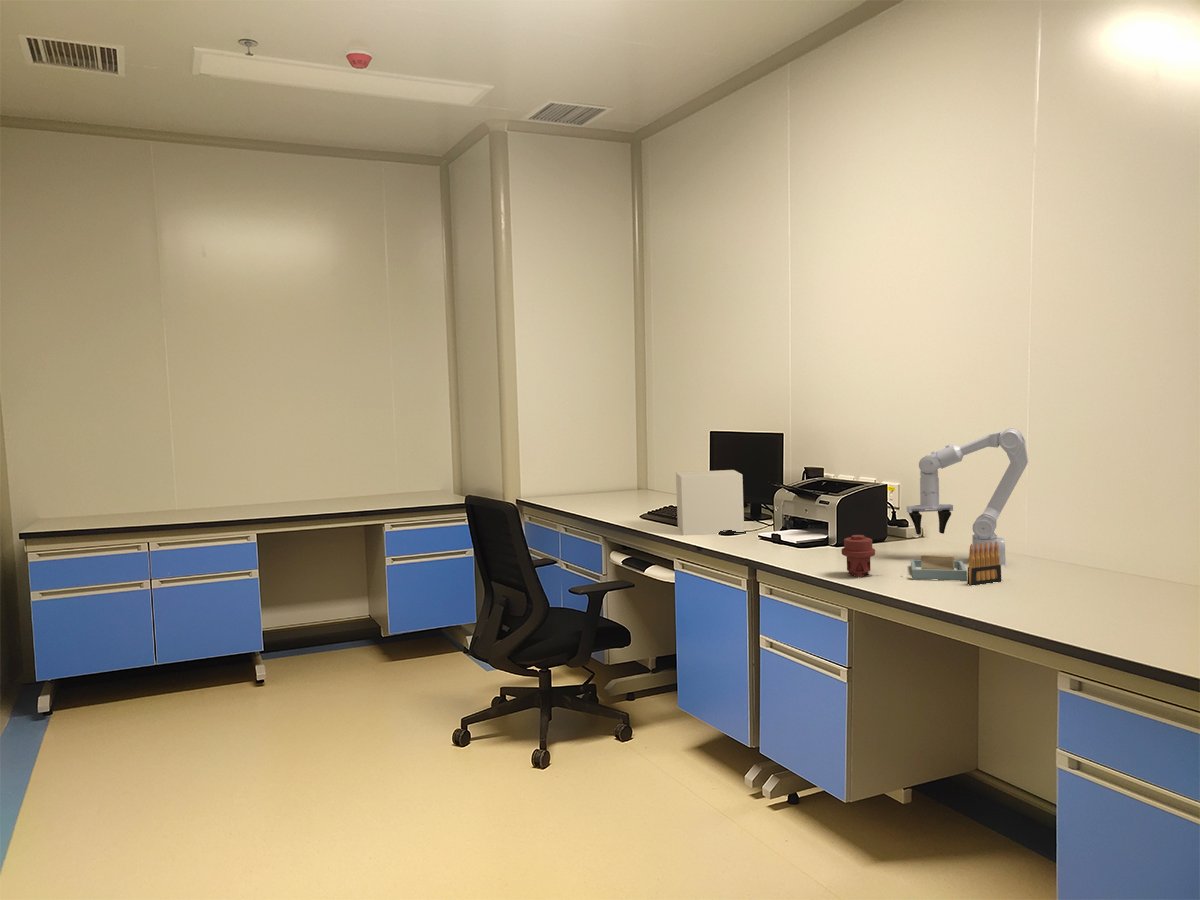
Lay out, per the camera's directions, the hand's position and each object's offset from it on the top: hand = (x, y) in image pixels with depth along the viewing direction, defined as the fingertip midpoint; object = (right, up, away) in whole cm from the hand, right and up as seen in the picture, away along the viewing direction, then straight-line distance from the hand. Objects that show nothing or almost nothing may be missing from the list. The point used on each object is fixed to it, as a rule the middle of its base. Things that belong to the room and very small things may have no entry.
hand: (930, 533), depth 280 cm
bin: (-5, -11, -18) cm, 22 cm away
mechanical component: (-28, -12, -14) cm, 33 cm away
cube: (-61, -7, +82) cm, 102 cm away
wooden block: (-5, -10, -18) cm, 21 cm away
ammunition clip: (+4, -12, -31) cm, 33 cm away
